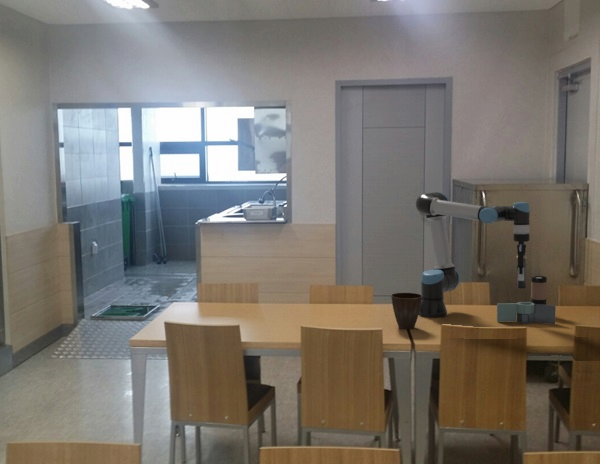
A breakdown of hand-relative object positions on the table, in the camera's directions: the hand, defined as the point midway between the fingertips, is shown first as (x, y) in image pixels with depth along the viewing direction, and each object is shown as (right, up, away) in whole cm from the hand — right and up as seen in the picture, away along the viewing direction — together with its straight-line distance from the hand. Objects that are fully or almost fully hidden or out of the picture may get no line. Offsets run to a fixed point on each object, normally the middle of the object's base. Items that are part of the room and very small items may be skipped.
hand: (521, 279), depth 338 cm
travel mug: (+14, -20, +17) cm, 30 cm away
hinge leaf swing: (-3, -21, +2) cm, 21 cm away
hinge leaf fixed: (+7, -21, 0) cm, 23 cm away
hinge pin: (0, -4, 0) cm, 4 cm away
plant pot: (-58, -23, -6) cm, 63 cm away
